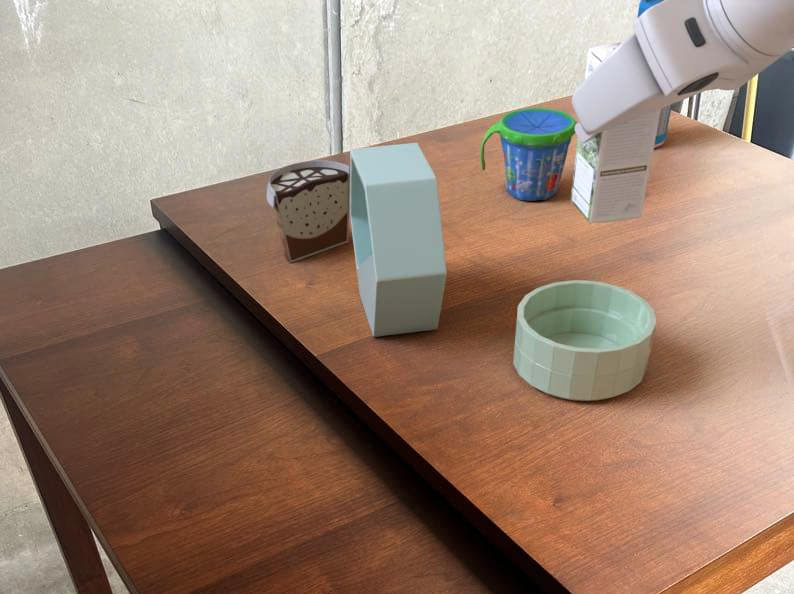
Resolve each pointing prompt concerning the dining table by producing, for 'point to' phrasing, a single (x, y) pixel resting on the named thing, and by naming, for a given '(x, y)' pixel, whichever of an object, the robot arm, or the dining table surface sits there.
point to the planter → (397, 238)
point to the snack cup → (533, 150)
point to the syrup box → (614, 163)
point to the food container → (310, 206)
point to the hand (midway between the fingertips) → (613, 122)
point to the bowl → (583, 339)
